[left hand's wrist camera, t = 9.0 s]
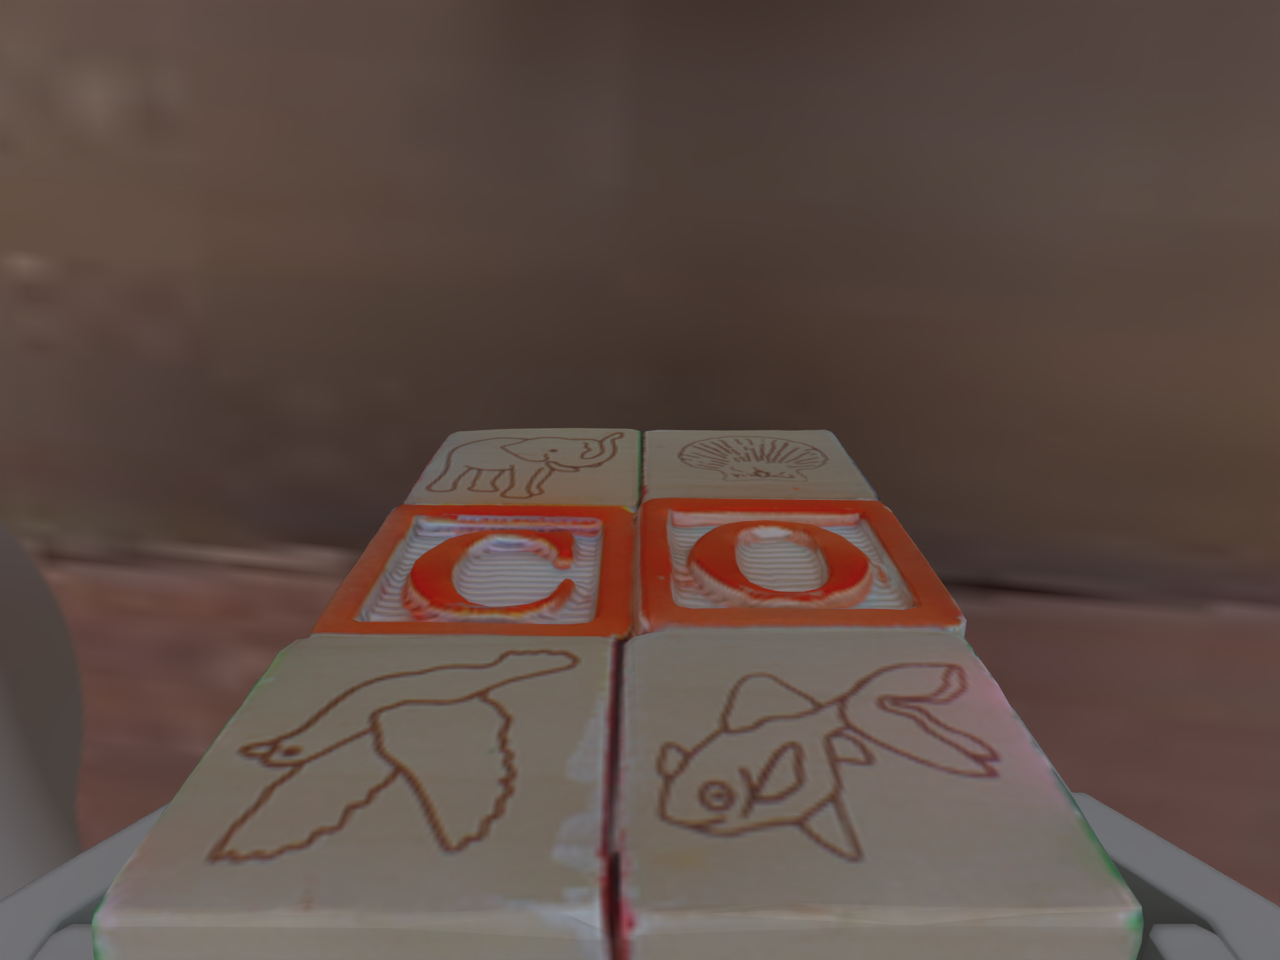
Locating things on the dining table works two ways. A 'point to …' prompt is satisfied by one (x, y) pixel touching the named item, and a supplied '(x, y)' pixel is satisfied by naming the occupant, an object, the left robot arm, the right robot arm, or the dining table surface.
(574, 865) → the stack of blocks
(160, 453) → the dining table surface
